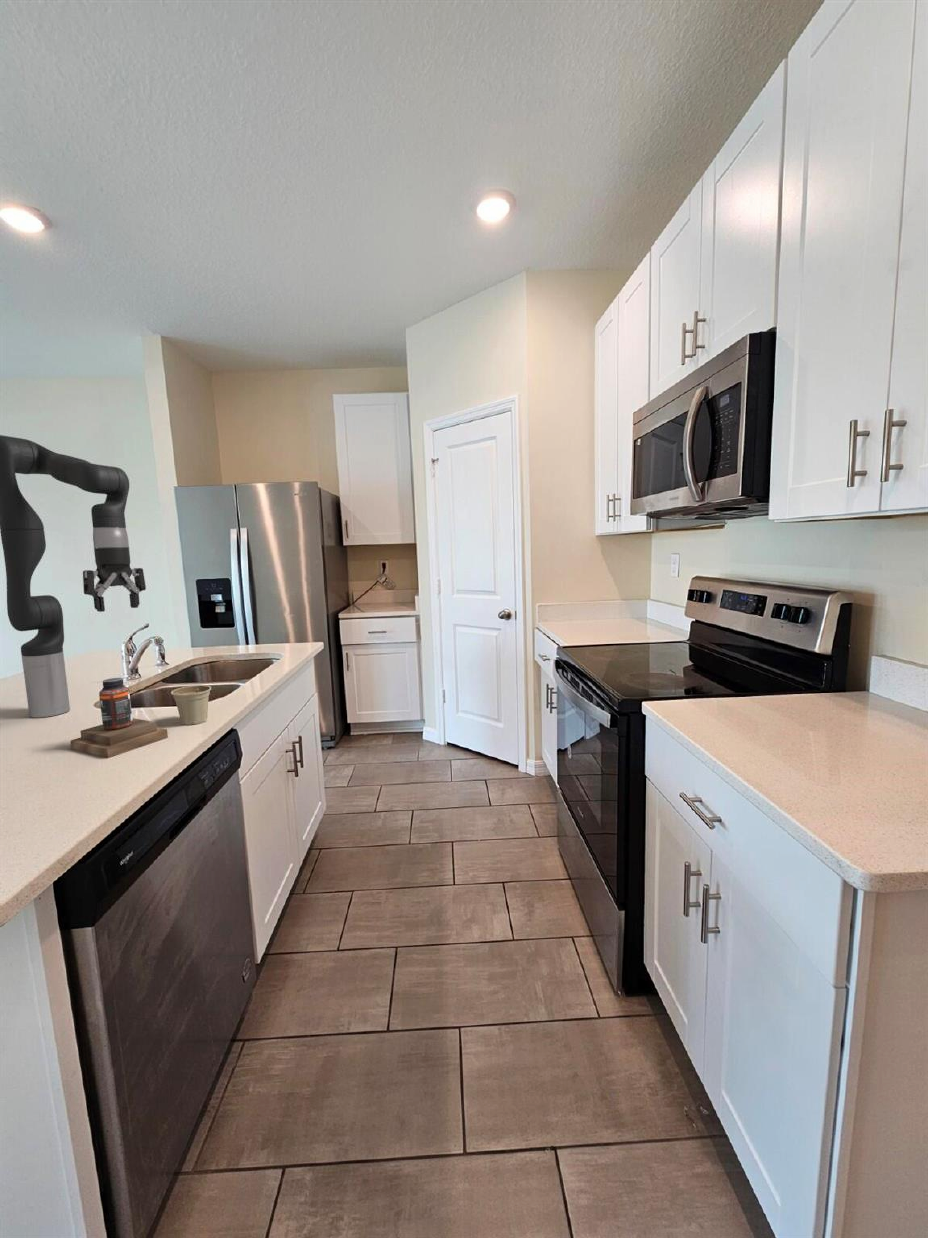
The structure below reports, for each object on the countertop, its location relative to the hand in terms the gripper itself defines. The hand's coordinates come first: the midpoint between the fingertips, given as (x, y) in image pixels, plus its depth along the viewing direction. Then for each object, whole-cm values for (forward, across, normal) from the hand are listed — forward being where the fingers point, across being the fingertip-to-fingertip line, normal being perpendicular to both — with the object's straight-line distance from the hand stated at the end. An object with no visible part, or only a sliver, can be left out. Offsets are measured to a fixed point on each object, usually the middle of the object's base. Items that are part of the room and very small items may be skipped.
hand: (118, 609), depth 139 cm
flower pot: (+30, -7, +16) cm, 35 cm away
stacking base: (+30, +11, +14) cm, 35 cm away
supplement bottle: (+26, +11, +14) cm, 32 cm away
